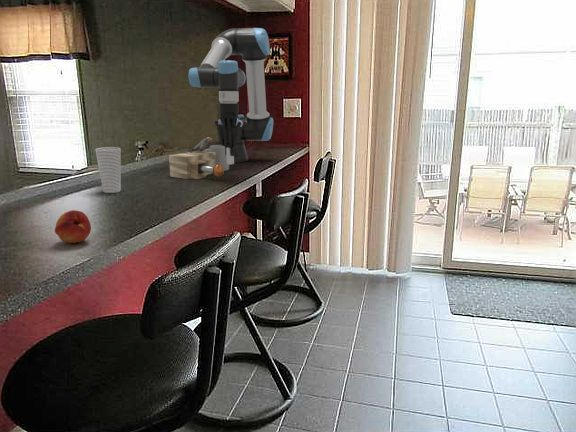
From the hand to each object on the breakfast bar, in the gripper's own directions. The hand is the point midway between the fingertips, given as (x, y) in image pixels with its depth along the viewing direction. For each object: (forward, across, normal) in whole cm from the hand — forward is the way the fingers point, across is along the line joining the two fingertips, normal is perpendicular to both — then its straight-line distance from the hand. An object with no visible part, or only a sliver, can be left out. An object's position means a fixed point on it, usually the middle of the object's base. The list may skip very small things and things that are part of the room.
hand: (230, 163), depth 185 cm
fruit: (+9, +18, -80) cm, 83 cm away
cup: (+8, -24, -38) cm, 45 cm away
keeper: (-5, -23, +10) cm, 26 cm away
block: (+7, -23, +4) cm, 24 cm away
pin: (+6, -14, 0) cm, 15 cm away
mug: (+7, -25, +20) cm, 33 cm away
